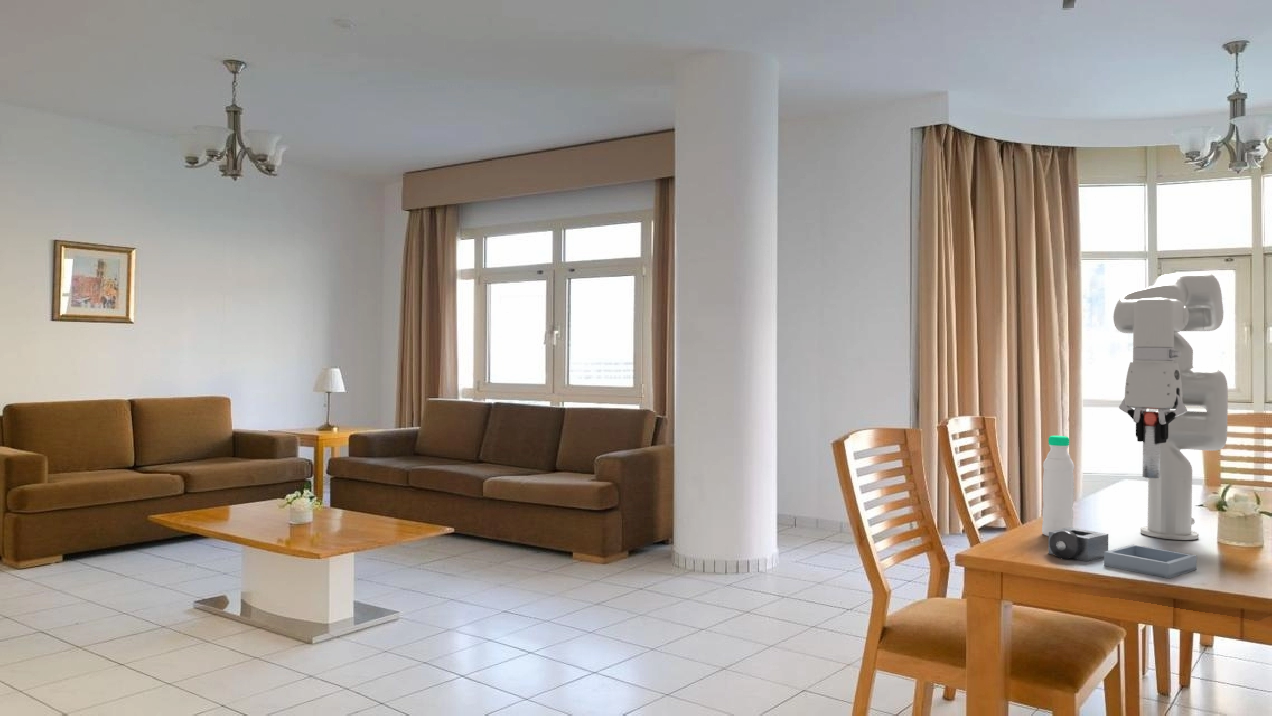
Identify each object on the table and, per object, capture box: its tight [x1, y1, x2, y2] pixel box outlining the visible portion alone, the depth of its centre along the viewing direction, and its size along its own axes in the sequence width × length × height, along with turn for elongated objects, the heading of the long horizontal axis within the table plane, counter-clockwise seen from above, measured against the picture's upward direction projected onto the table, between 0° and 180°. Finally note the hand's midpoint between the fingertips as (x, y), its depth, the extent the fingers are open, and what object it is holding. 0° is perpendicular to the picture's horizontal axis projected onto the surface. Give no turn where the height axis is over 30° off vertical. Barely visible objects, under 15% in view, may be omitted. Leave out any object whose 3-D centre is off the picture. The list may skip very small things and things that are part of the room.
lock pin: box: [1142, 410, 1160, 479], centre depth 191 cm, size 3×3×14 cm
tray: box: [1103, 544, 1198, 579], centre depth 191 cm, size 13×13×3 cm
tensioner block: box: [1048, 527, 1109, 562], centre depth 202 cm, size 12×9×6 cm
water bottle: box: [1041, 435, 1075, 537], centre depth 224 cm, size 7×7×25 cm
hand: (1151, 441), depth 191 cm, fingers closed on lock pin, 3 cm apart
